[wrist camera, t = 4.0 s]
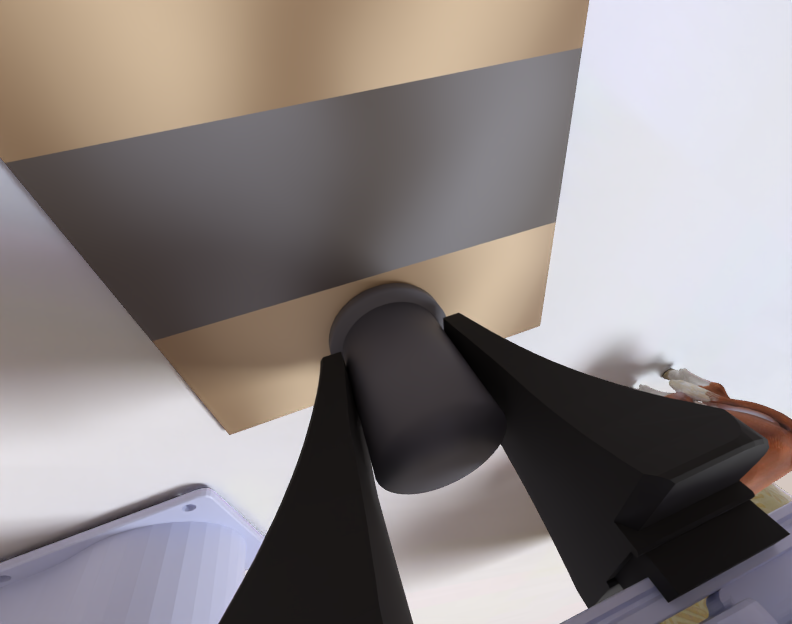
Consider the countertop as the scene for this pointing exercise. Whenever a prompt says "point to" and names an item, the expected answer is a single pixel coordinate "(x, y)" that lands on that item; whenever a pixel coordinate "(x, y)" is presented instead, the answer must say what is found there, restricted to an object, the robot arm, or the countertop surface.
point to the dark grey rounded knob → (414, 390)
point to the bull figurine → (784, 435)
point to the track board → (292, 166)
